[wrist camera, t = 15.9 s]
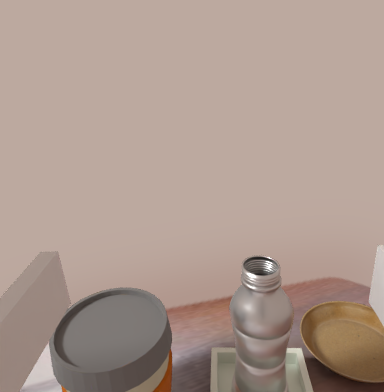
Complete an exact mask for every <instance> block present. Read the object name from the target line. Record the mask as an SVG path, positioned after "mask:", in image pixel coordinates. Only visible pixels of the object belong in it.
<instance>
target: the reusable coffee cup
mask: <svg viewBox="0 0 384 392" xmlns="http://www.w3.org/2000/svg"><path fill="white" fill-rule="evenodd" d="M171 343H172V332H171V328H170V324H169V320H168V317H167V313H166V310H165V307H164V305H163V304H162V302H161V301H160V300H159V299H158V298H157V297H156V296H155V295H153V294H151V293H149V292H147V291H144V290H141V289H135V288H114V289H109V290H104V291H100V292H97V293H95V294H92V295H90V296H88V297H86V298H84V299H82V300H80V301H78V302H77V303H75V304H74V305H72V306H71V307H70V308H69V309H67V311H66V312H65V314H64V316H63V318H62V319H61V321H60V323H59V324H58V326H57V328H56V330H55V331H54V333H53V335H52V336H51V338H50V340H49V347H50V354H51V361H52V367H53V372H54V375H55V377H56V379H57V381H58V383H60V384H61V387H62V391H63V392H171V380H172V352H171Z"/></svg>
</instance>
